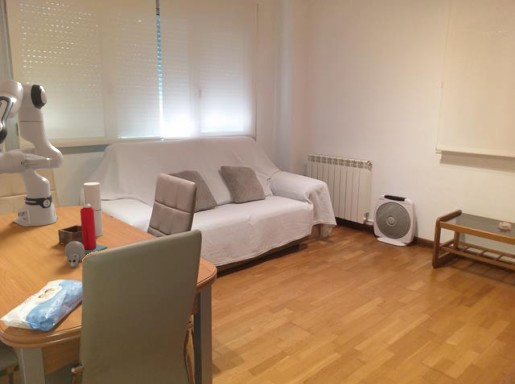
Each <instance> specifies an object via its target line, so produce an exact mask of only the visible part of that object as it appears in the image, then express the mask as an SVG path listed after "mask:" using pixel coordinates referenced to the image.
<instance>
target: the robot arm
mask: <svg viewBox="0 0 515 384" xmlns="http://www.w3.org/2000/svg"><path fill="white" fill-rule="evenodd" d="M47 102H48V94H47V91H46V89H45V87H43V85H39V84H31V83H20V82H19V81H17V80H15V79H11V78H7V79H4V80H2V81H1V82H0V175H2V174H18V175H19V176H20V177H21V178H22V181H23V182H24V187H25V193H26V197H24V199H23V201H24V204H23V205H22V206H21V207H20V208H19V209H17V217H16V218H14V219H13V220H12V221H13V223H16V224H18V225H20V226H21V227H22V226H23V227H27V228H28V227H37V226H38V227H39V226H46V225H51V224H54V223H56V222H57V220H58V219H59V216H57V214H56V208H55V204H54V203H53V197H52V194H51V193H52V192H51V186H50V185H51V184H50V182H51V181H49V179H48V178H46V177H45V176H42V175H40V174H39V173H37V171H39V170H40V171H43V170H45V171H46V170H54V169H58V168H60V167H62V164H63V163H64V156H63V153H62V152H61V151H60V150H59V149H58V148H56V147H55V146H53V144H52V143H51V142H50V141H49V139H48V138H47V134H46V129H45V128H46V127H45V123H44V122H45V121H44V114H43V109H42V108H43V107H45V105H46V104H47ZM16 115H17V120H18V130H19V135H20V137H21V138H22V139H23V140H24V141H26V142H29V143H31V144H32V145H33V146H34V147H33V148H32V147H31V148H30V147H29V148H16V149H11V150H9V151H5V150H4V149H3V148H4V145H5V140H6V138H7V135H8V127H7V124H6V123H7V121H8V119H13V118H15V117H16Z"/></svg>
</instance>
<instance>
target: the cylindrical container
mask: <svg viewBox="0 0 515 384" xmlns="http://www.w3.org/2000/svg"><path fill="white" fill-rule="evenodd" d="M83 196H84V198H83V199H84V204H85V203H88V204H90V205H91V207H92V208H93V209H94V217H95V232H96V238H97V237H101V236H102V235H104V229H103V214H102V213H103V212H102V198H101V196H102V195H101V183H100V182H95V181H93V182H92V181H91V182H90V181H89V182H85V183H83Z"/></svg>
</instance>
